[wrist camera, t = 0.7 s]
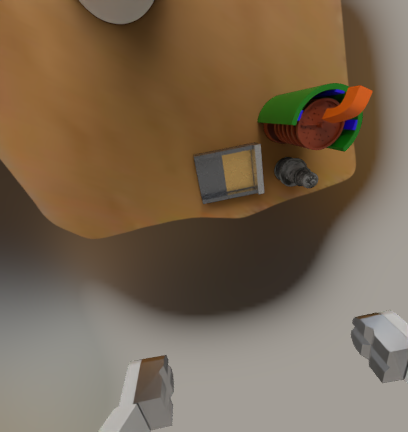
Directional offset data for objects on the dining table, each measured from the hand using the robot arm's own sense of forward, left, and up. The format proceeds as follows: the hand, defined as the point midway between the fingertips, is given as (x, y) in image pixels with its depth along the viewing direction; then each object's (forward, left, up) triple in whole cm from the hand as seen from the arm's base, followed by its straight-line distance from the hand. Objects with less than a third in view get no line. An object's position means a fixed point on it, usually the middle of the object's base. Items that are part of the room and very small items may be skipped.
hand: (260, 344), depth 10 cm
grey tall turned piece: (+4, +19, -41) cm, 46 cm away
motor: (-6, +18, -41) cm, 46 cm away
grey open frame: (+2, +6, -41) cm, 42 cm away
